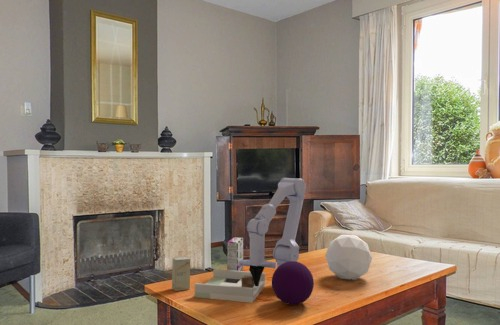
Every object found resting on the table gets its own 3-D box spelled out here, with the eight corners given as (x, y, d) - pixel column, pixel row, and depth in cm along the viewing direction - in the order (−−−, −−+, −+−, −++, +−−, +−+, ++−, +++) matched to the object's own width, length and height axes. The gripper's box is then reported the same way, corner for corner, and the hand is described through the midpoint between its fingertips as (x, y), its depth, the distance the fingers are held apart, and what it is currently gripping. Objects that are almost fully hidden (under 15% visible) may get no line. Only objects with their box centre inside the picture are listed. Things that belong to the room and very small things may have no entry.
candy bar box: (232, 273, 189) (233, 237, 189) (243, 274, 188) (243, 237, 188) (226, 280, 178) (226, 241, 178) (237, 281, 177) (238, 242, 177)
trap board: (265, 285, 171) (265, 272, 171) (252, 302, 150) (252, 288, 150) (214, 280, 177) (214, 269, 177) (194, 297, 155) (195, 283, 155)
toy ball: (265, 307, 146) (265, 264, 146) (279, 294, 159) (280, 255, 159) (306, 313, 140) (307, 269, 140) (318, 300, 153) (318, 259, 153)
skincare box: (174, 291, 162) (175, 260, 162) (171, 288, 166) (171, 257, 166) (190, 289, 165) (190, 258, 165) (186, 286, 169) (187, 256, 169)
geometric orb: (360, 294, 182) (387, 263, 173) (322, 281, 176) (348, 248, 168) (348, 263, 198) (372, 233, 190) (312, 251, 192) (336, 219, 184)
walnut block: (254, 286, 163) (254, 275, 163) (251, 289, 159) (251, 278, 159) (244, 285, 164) (244, 275, 164) (241, 288, 160) (241, 277, 160)
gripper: (236, 251, 159) (235, 286, 159) (273, 253, 155) (273, 290, 155) (240, 247, 165) (240, 281, 166) (277, 249, 162) (276, 284, 162)
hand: (256, 285), depth 161 cm, fingers closed
